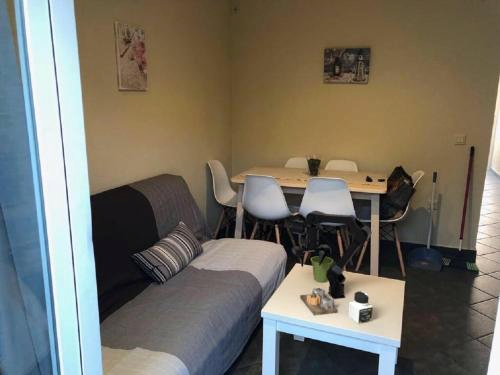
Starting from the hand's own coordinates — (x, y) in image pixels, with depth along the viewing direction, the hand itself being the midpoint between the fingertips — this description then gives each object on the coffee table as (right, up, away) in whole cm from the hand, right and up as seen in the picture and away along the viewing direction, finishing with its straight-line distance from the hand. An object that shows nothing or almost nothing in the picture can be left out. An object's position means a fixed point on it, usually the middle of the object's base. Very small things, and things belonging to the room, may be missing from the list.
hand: (310, 266), depth 204 cm
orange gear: (-1, -14, -15) cm, 21 cm away
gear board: (+1, -15, -15) cm, 21 cm away
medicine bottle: (+17, -18, -27) cm, 37 cm away
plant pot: (+7, -10, +13) cm, 18 cm away
